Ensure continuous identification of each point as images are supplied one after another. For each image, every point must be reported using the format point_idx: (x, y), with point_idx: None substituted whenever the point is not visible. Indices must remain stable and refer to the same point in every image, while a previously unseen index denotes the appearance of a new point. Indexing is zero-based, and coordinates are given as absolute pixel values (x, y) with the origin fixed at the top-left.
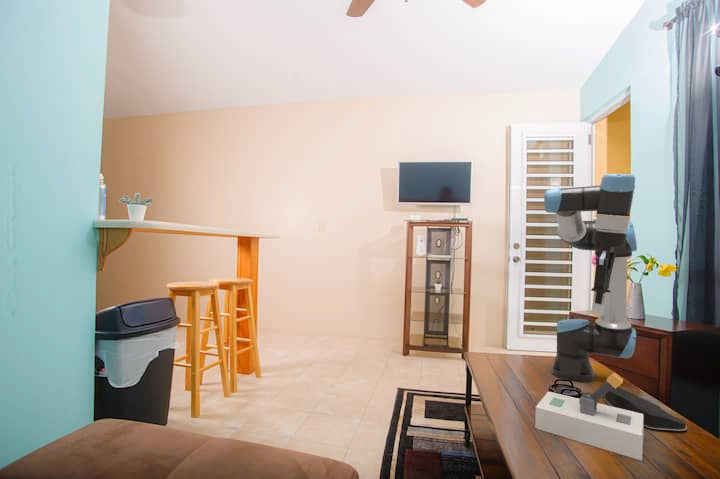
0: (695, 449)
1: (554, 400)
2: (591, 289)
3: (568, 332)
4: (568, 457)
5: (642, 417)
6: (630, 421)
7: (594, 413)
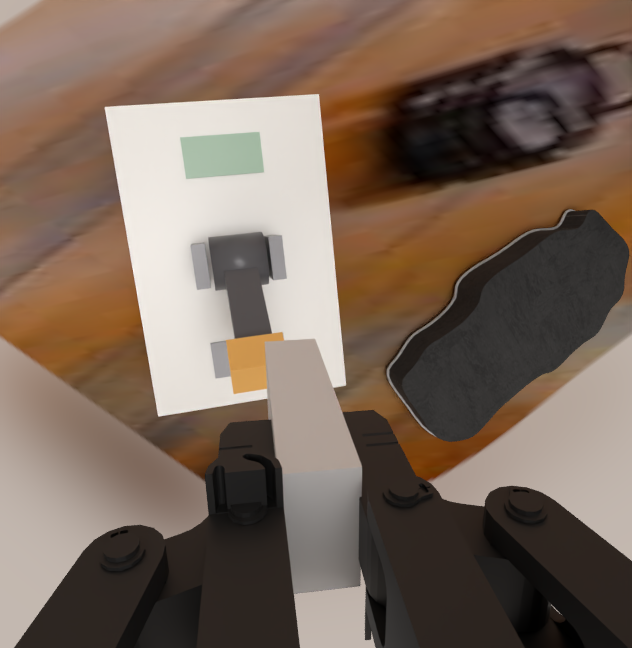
0: None
1: (228, 143)
2: (208, 469)
3: None
4: (9, 256)
5: None
6: None
7: None
